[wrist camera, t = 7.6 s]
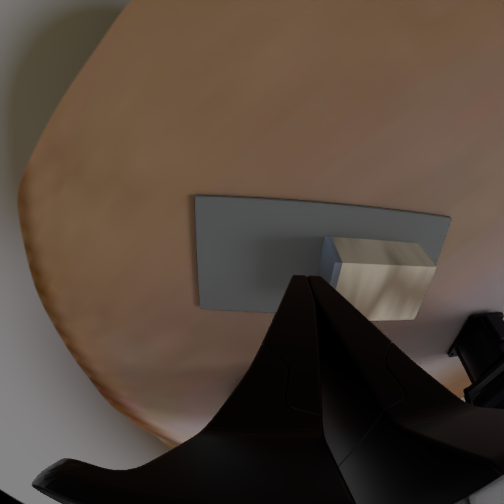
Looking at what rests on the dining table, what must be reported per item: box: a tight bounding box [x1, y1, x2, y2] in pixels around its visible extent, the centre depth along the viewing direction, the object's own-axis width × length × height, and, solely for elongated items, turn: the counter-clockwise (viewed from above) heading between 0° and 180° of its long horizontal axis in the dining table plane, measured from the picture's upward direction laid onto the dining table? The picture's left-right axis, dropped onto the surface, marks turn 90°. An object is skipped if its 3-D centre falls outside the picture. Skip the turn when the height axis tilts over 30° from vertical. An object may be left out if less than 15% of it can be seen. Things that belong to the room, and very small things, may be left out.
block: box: [317, 236, 437, 321], centre depth 22 cm, size 5×4×8 cm
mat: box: [195, 195, 452, 313], centre depth 23 cm, size 10×20×1 cm, turn 87°
